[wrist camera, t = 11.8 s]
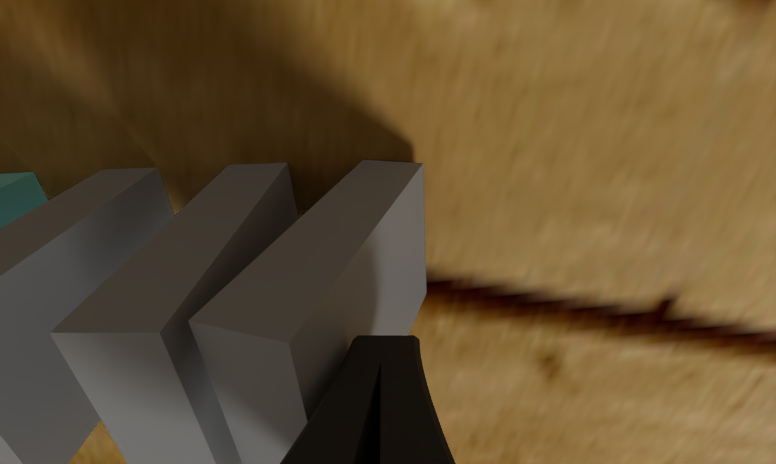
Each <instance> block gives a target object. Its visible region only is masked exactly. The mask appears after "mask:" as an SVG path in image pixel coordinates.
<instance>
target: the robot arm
mask: <svg viewBox="0 0 776 464" xmlns="http://www.w3.org/2000/svg"><path fill="white" fill-rule="evenodd" d="M280 464H455V461H454V459H453V457H452V454H451V452H450V449H449V447H448V444H447V442H446V439H445V436H444V434H443V431H442V428H441V426H440V423H439V420H438V417H437V414H436V411H435V408H434V405H433V403H432V399H431V396H430V393H429V389H428V386H427V382H426V378H425V374H424V370H423V366H422V360H421V354H420V342H419V339H418V338H417V337H415V336H402V335H358V336H356V337H355V338H354V339H353V341H352V343H351V345H350V347H349V350H348V352H347V354H346V356H345V358H344V360H343V362H342V364H341V366H340V368H339V370H338V371H337V373H336V375H335V377H334V379H333V381H332V382H331V384H330V386H329V388H328V389H327V391H326V393H325V394H324V396H323V398H322V399H321V401H320V403H319V404H318V406H317V408H316V409H315V411H314V413H313V414H312V416H311V418H310V419H309V421H308V423H307V424H306V426H305V427H304V429H303V430H302V432H301V433H300V435H299V436H298V438H297V439H296V441H295V442H294V444H293V445H292V446H291V448H290V449H289V451H288V452H287V454H286V455H285V457H284V458H283V460H282V461H281V463H280Z"/></svg>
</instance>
